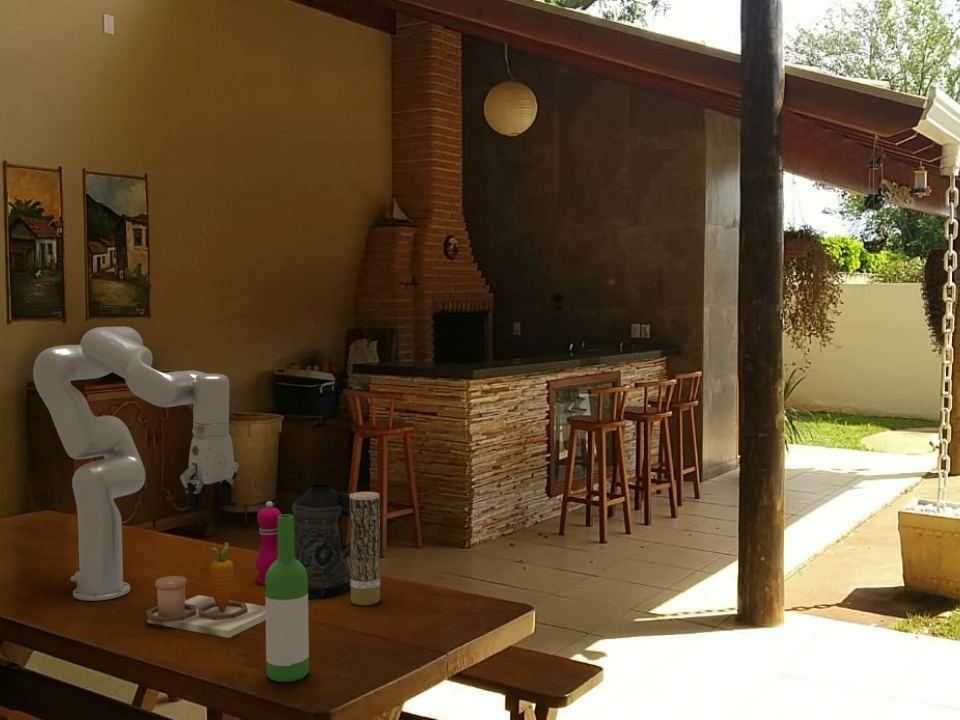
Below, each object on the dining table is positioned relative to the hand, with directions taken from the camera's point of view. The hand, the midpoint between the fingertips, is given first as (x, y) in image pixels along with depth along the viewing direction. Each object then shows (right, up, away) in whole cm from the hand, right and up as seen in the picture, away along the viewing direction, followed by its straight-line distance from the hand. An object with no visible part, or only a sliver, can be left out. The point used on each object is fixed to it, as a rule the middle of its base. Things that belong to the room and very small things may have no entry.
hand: (210, 506), depth 211 cm
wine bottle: (+24, -26, -35) cm, 50 cm away
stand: (+1, -24, -4) cm, 24 cm away
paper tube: (+33, -24, +8) cm, 42 cm away
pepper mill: (+8, -22, +25) cm, 34 cm away
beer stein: (+22, -23, +19) cm, 37 cm away
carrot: (+4, -23, -3) cm, 23 cm away
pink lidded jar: (-7, -23, -5) cm, 24 cm away
